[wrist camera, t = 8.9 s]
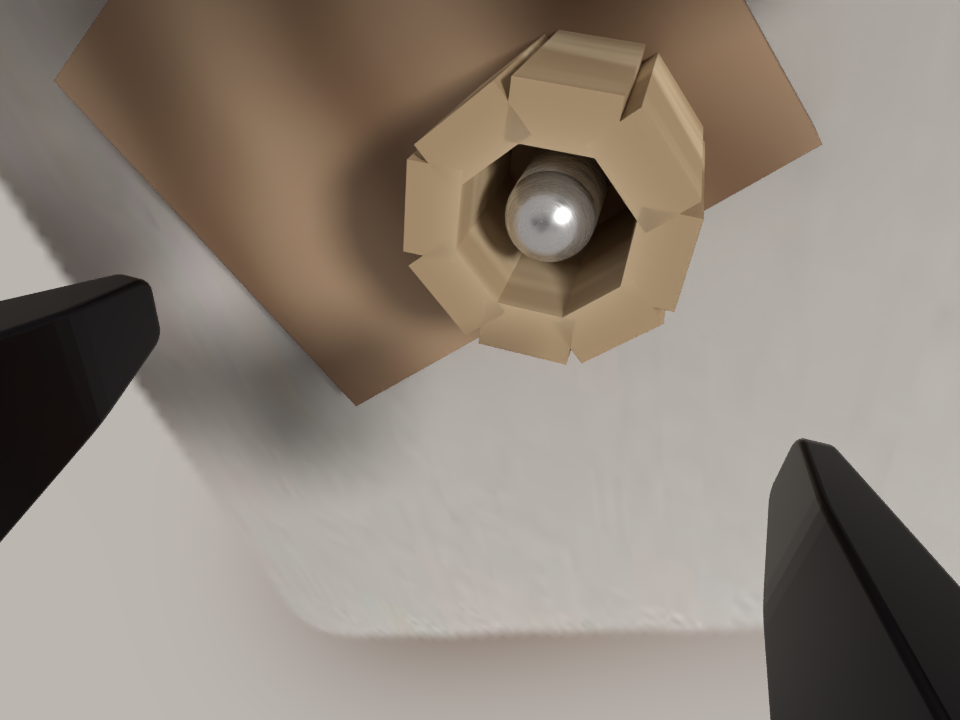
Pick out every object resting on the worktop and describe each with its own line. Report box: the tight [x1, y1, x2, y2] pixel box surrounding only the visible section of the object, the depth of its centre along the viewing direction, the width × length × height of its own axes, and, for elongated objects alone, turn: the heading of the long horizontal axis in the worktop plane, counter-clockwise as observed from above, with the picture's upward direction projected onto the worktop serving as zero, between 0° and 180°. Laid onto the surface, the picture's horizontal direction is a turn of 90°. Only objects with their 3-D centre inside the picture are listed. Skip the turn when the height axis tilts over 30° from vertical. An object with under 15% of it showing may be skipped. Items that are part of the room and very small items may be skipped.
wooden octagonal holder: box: [403, 30, 705, 364], centre depth 16 cm, size 6×6×5 cm
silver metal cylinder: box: [505, 148, 611, 262], centre depth 16 cm, size 2×2×5 cm
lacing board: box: [54, 0, 822, 406], centre depth 19 cm, size 17×14×2 cm
